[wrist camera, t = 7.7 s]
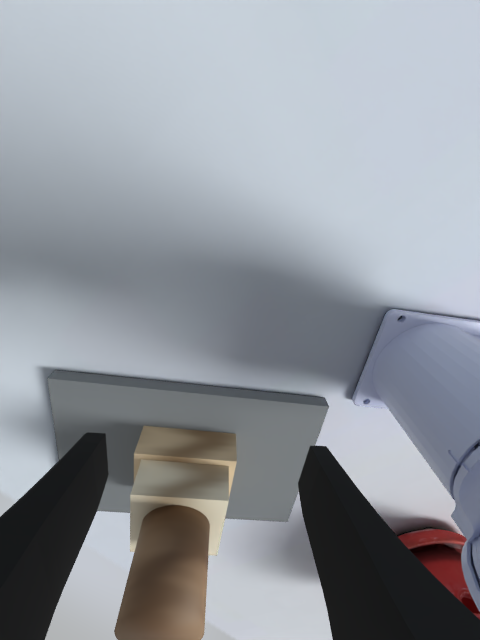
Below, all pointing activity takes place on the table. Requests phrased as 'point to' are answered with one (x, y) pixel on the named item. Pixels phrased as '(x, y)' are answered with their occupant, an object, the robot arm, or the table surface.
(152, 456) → the oak bottom block
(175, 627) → the walnut cylinder
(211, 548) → the birch top block
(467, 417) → the robot arm
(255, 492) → the grey base plate
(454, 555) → the plant pot
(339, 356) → the table surface
